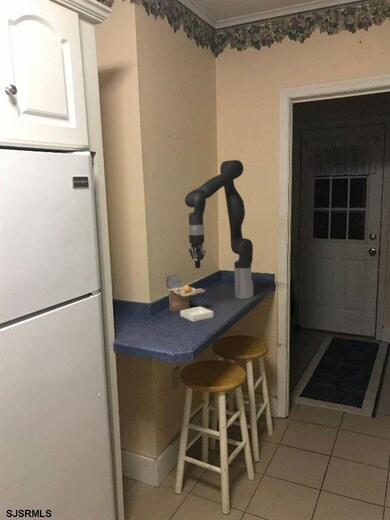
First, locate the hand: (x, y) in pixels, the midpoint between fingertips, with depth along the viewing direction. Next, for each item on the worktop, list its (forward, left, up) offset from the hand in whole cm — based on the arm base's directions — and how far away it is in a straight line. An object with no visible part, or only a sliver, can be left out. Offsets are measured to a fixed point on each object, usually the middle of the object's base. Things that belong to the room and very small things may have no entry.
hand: (197, 267), depth 216 cm
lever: (+4, -7, -12) cm, 15 cm away
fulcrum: (+7, -8, -22) cm, 24 cm away
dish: (+7, +9, -22) cm, 25 cm away
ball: (+7, 0, -11) cm, 13 cm away
